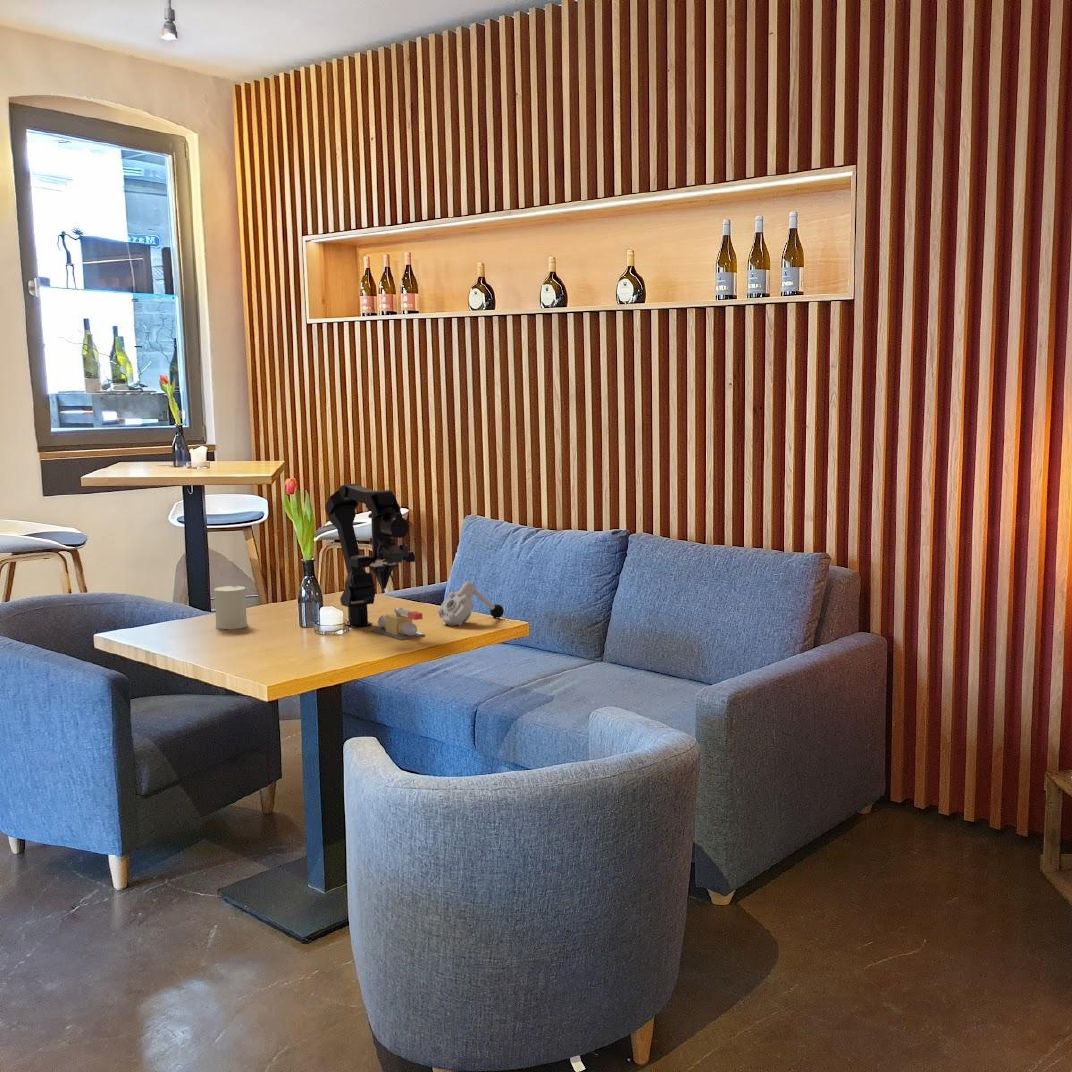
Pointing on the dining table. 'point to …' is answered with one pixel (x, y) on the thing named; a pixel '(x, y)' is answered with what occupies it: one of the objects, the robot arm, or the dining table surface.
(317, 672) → the dining table surface
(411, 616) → the valve lever
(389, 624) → the pipe valve
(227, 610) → the can
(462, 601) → the mechanical valve
